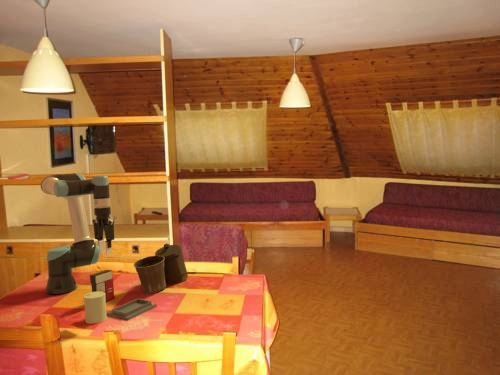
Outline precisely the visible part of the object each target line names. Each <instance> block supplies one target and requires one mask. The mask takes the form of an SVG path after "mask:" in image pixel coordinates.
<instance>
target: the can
mask: <svg viewBox="0 0 500 375" xmlns="http://www.w3.org/2000/svg"><path fill="white" fill-rule="evenodd" d="M83 303H84V316H85V317H84V318H85V319H84V320H85V323H86V324H90V325H91V324H99V323H102V322H104V321H106V320H107V319H108V315H107V304H106V303H107V302H106V301H105V292H102V291H96V292H92V291H90V292H88V293H86V294H84V295H83Z"/></svg>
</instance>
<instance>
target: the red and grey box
mask: <svg viewBox="0 0 500 375" xmlns="http://www.w3.org/2000/svg"><path fill="white" fill-rule="evenodd" d="M89 282H90V285H91V292H96V291H102V292H105V301H106V303H107V302H109V301H112V300H113V299H115V289H114V276H113V270H111V269H105V270H102V271H98V272H96V273H92V274H90V275H89Z"/></svg>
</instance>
